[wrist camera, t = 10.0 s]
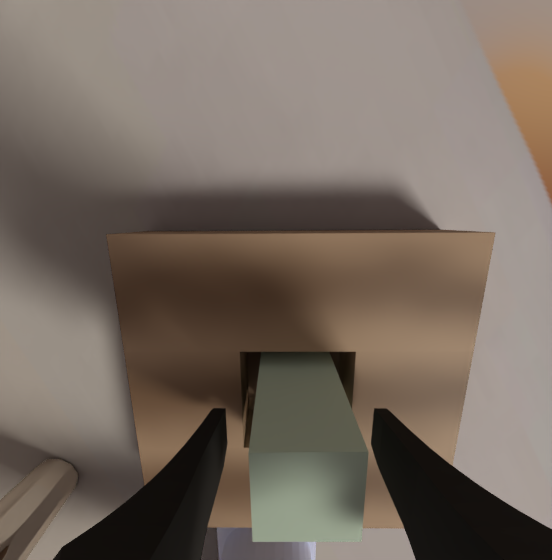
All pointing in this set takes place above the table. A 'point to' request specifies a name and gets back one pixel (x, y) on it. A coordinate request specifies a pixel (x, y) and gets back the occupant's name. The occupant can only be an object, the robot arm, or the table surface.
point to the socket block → (296, 335)
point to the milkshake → (33, 507)
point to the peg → (305, 453)
